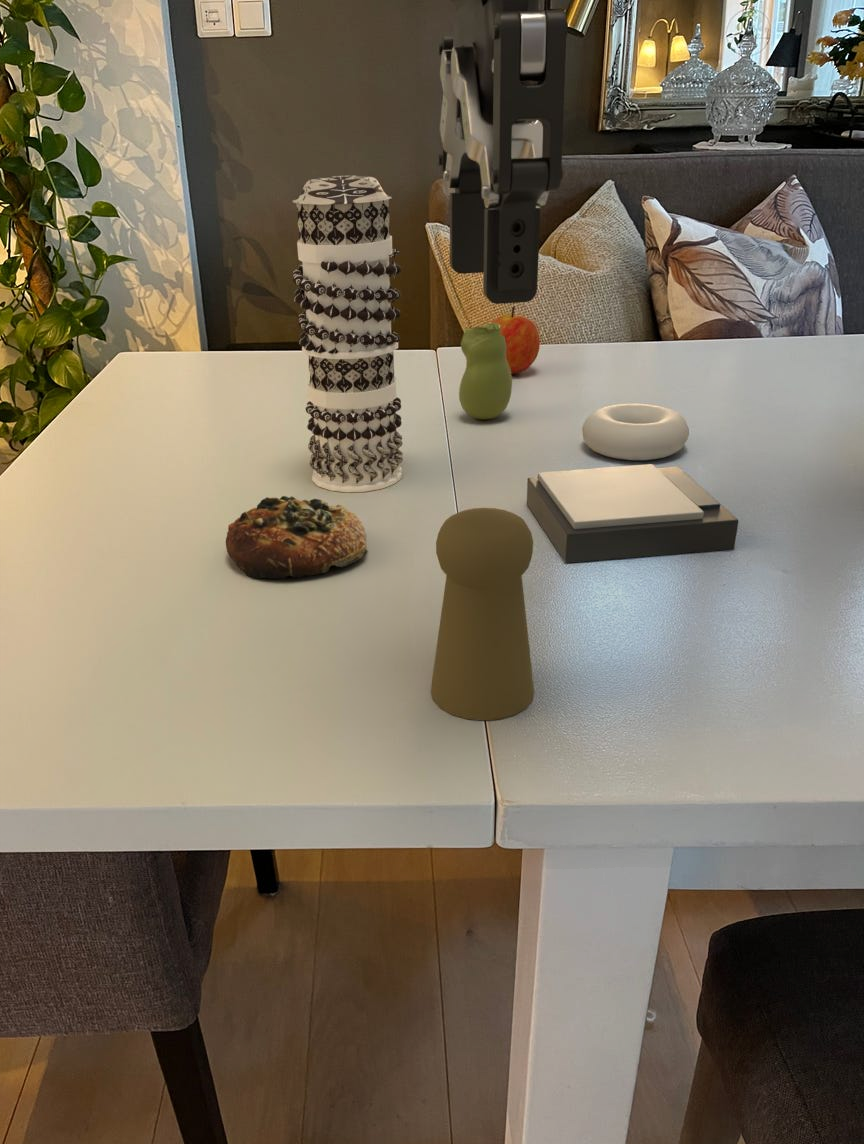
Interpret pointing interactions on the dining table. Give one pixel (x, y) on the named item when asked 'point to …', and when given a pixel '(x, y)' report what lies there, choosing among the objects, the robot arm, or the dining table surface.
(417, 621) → the dining table surface
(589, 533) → the scale
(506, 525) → the olive game pawn
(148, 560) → the dining table surface
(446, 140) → the robot arm
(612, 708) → the dining table surface
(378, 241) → the decorative candle
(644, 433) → the donut
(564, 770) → the dining table surface
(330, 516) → the bread roll
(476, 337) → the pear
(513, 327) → the fruit
